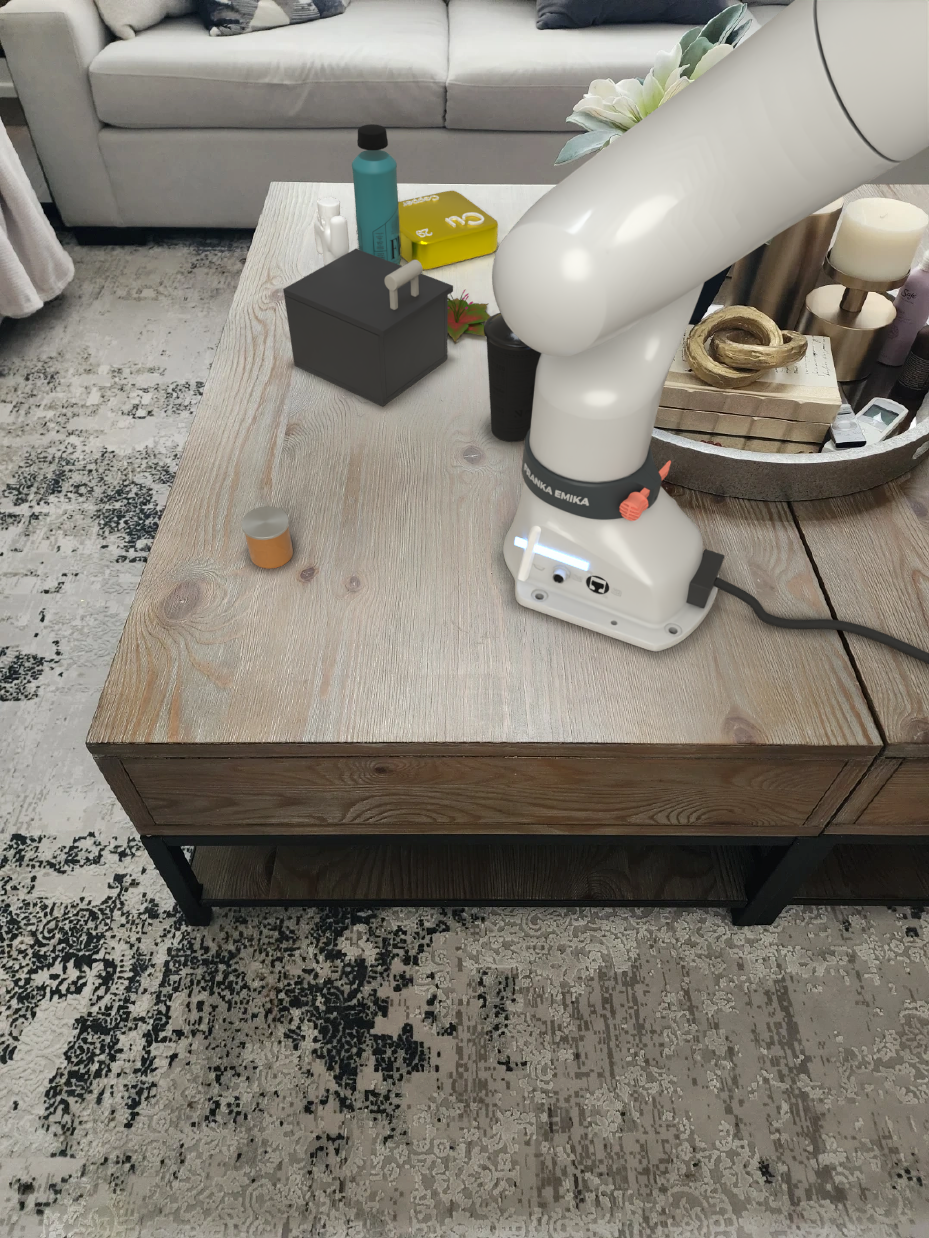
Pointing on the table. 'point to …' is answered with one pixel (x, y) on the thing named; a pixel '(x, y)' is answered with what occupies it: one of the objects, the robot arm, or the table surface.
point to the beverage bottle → (376, 196)
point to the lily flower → (465, 317)
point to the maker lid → (369, 291)
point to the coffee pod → (268, 536)
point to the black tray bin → (368, 350)
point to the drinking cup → (509, 380)
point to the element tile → (444, 229)
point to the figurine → (330, 230)
